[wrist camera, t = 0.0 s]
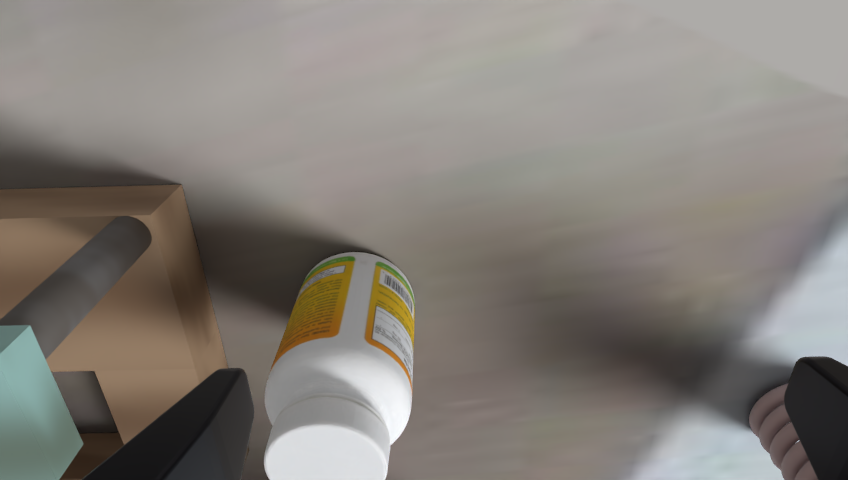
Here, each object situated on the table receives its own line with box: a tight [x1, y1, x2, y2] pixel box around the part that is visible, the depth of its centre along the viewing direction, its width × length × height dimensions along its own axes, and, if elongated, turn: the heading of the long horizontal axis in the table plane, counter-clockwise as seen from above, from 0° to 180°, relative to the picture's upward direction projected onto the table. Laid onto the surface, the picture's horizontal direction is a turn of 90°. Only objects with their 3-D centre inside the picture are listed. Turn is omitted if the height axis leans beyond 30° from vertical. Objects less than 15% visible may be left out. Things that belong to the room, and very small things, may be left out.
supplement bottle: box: [264, 252, 415, 480], centre depth 22 cm, size 5×5×10 cm
